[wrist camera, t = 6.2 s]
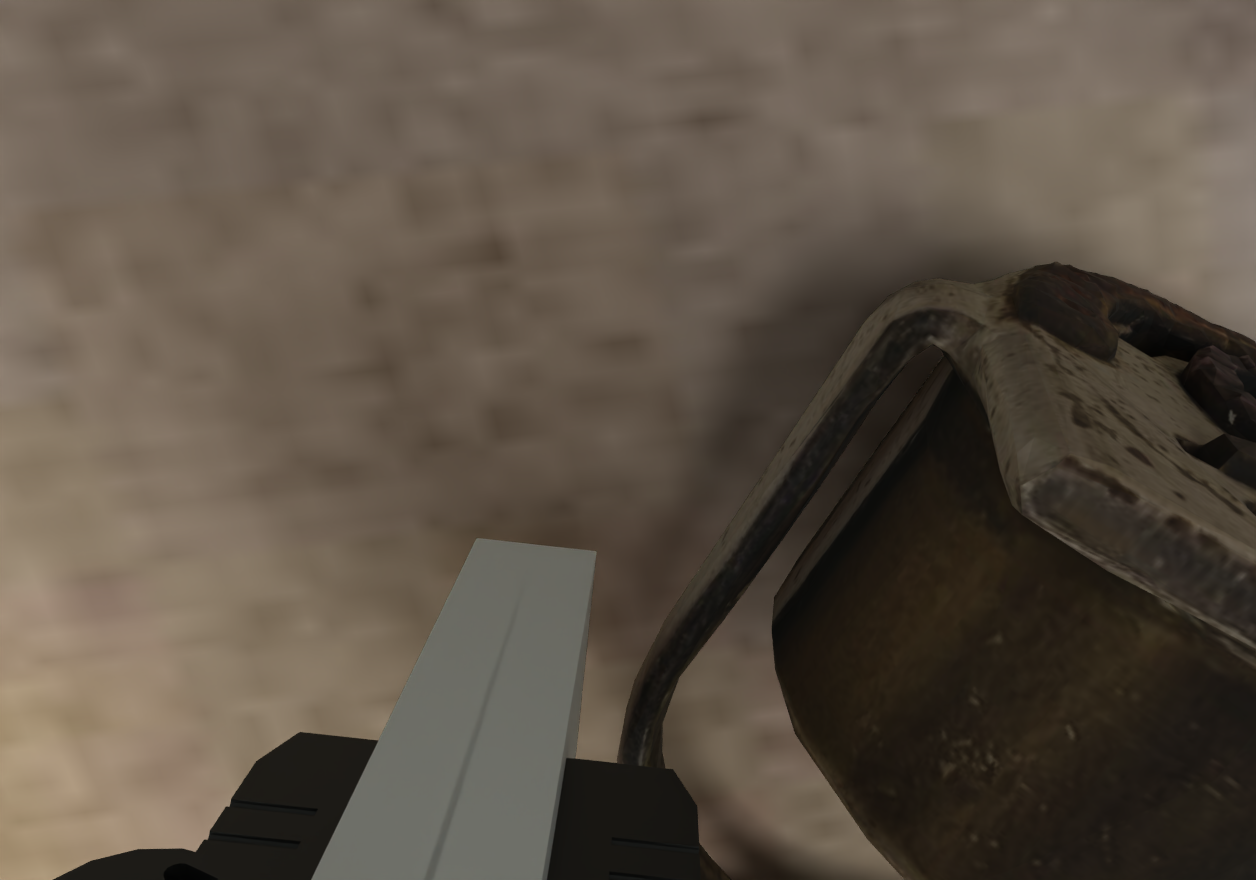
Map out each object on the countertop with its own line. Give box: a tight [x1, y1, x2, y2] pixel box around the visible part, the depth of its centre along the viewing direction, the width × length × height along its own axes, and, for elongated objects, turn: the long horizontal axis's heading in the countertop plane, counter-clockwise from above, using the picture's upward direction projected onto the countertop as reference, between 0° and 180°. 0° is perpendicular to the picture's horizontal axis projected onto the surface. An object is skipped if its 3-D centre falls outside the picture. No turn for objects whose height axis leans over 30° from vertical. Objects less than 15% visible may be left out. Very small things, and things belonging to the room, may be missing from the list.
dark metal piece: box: [617, 262, 1256, 880], centre depth 12 cm, size 7×13×10 cm
